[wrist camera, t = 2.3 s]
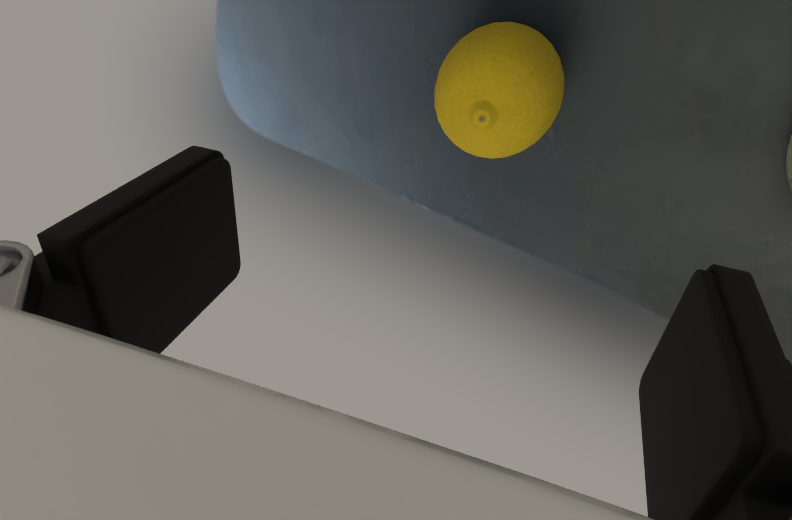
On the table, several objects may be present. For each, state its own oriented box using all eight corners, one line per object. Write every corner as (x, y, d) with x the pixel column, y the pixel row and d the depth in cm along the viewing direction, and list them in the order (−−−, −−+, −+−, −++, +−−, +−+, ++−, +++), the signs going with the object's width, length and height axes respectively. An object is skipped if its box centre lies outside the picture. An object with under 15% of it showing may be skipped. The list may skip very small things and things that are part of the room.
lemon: (504, 143, 29) (473, 209, 22) (437, 63, 28) (385, 109, 21) (594, 75, 26) (587, 129, 19) (522, -19, 25) (490, 7, 18)
